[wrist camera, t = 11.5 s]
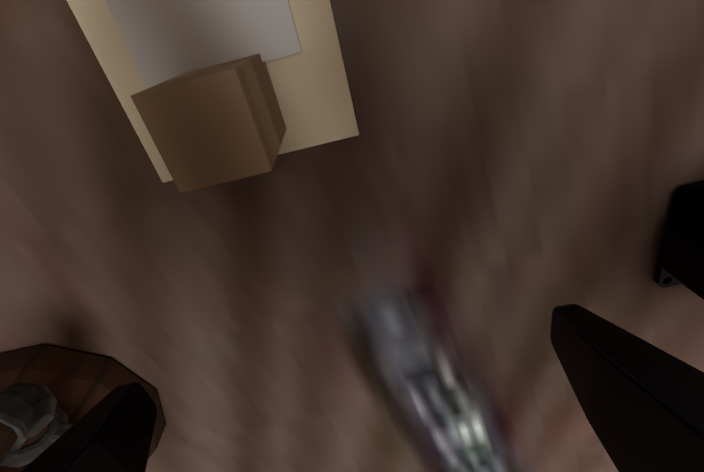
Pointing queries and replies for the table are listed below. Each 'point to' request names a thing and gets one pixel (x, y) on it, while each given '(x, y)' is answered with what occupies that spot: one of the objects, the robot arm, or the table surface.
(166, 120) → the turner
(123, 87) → the board
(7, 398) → the mug
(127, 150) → the table surface
